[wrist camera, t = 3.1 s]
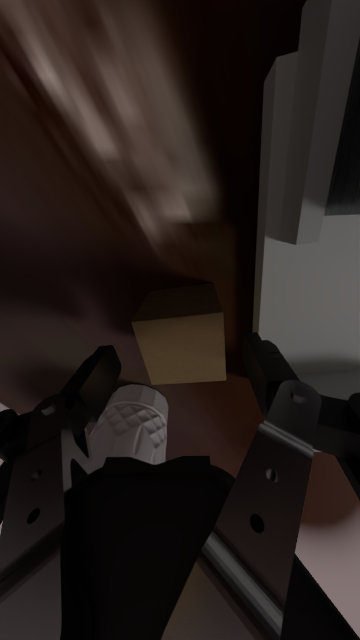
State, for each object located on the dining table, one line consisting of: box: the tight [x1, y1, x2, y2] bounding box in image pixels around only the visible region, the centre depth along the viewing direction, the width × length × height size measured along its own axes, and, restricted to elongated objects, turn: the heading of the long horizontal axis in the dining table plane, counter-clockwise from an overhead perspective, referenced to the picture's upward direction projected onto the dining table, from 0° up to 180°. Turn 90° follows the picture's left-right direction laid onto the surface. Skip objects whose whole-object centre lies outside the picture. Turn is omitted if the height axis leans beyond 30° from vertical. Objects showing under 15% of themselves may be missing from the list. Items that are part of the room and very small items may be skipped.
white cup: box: [89, 384, 168, 470], centre depth 17 cm, size 8×8×10 cm
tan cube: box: [131, 283, 226, 385], centre depth 13 cm, size 5×5×5 cm
